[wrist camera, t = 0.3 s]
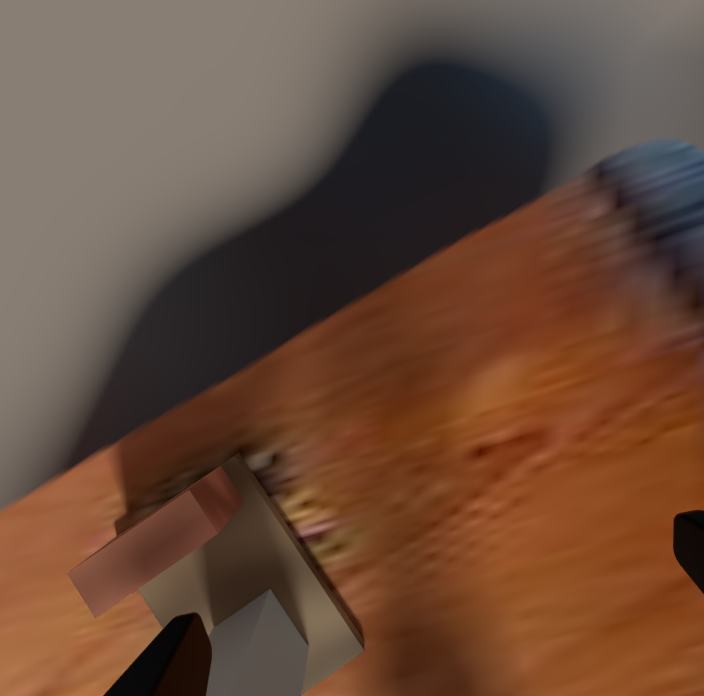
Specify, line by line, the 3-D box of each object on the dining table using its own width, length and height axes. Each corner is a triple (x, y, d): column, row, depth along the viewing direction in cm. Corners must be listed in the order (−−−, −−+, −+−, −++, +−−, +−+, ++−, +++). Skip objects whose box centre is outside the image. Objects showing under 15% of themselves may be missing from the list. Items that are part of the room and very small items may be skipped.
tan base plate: (364, 640, 23) (366, 720, 18) (239, 727, 22) (206, 831, 17) (238, 452, 23) (206, 477, 18) (116, 536, 23) (49, 585, 18)
